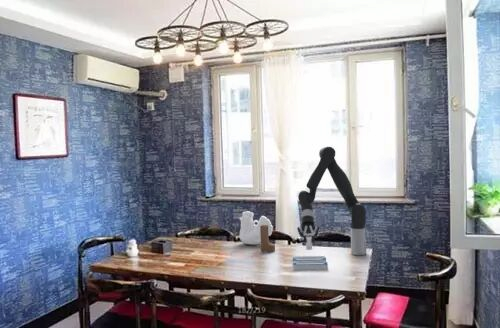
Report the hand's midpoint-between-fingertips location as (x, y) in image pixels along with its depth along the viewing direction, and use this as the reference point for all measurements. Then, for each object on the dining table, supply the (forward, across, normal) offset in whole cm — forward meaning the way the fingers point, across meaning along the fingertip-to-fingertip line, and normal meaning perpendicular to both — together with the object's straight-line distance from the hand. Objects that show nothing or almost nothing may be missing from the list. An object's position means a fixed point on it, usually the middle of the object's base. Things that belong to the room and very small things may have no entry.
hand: (309, 242), depth 245 cm
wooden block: (-17, -27, +39) cm, 50 cm away
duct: (+6, 0, +16) cm, 17 cm away
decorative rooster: (-31, -37, +53) cm, 72 cm away
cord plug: (+2, 0, +5) cm, 5 cm away
